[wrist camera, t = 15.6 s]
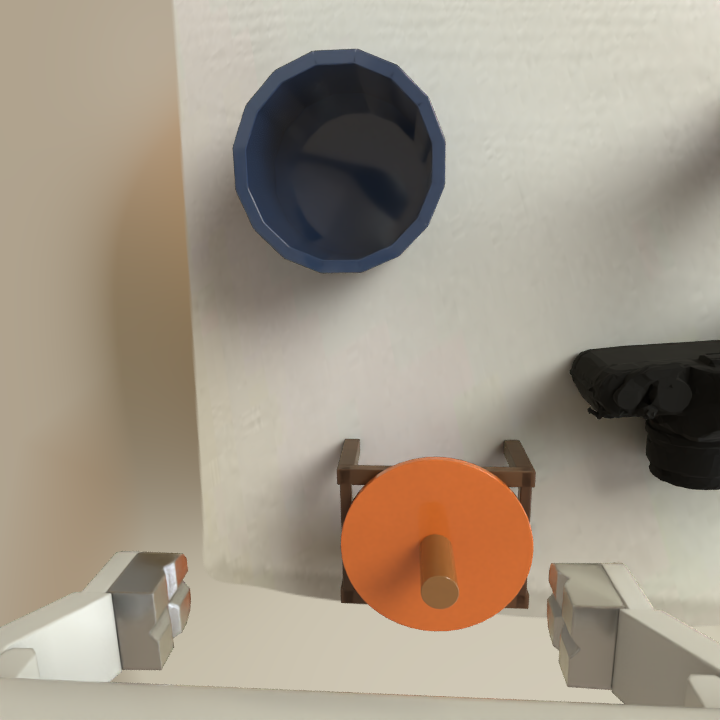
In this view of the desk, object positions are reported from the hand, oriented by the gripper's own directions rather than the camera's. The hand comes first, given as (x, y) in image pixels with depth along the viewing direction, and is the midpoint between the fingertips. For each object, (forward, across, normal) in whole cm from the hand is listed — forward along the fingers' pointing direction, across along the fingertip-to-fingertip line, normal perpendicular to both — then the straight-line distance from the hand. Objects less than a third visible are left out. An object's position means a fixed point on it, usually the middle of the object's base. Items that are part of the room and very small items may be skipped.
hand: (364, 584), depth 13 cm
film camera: (+33, -21, +6) cm, 40 cm away
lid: (+26, -3, +15) cm, 31 cm away
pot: (+33, +3, -11) cm, 35 cm away
